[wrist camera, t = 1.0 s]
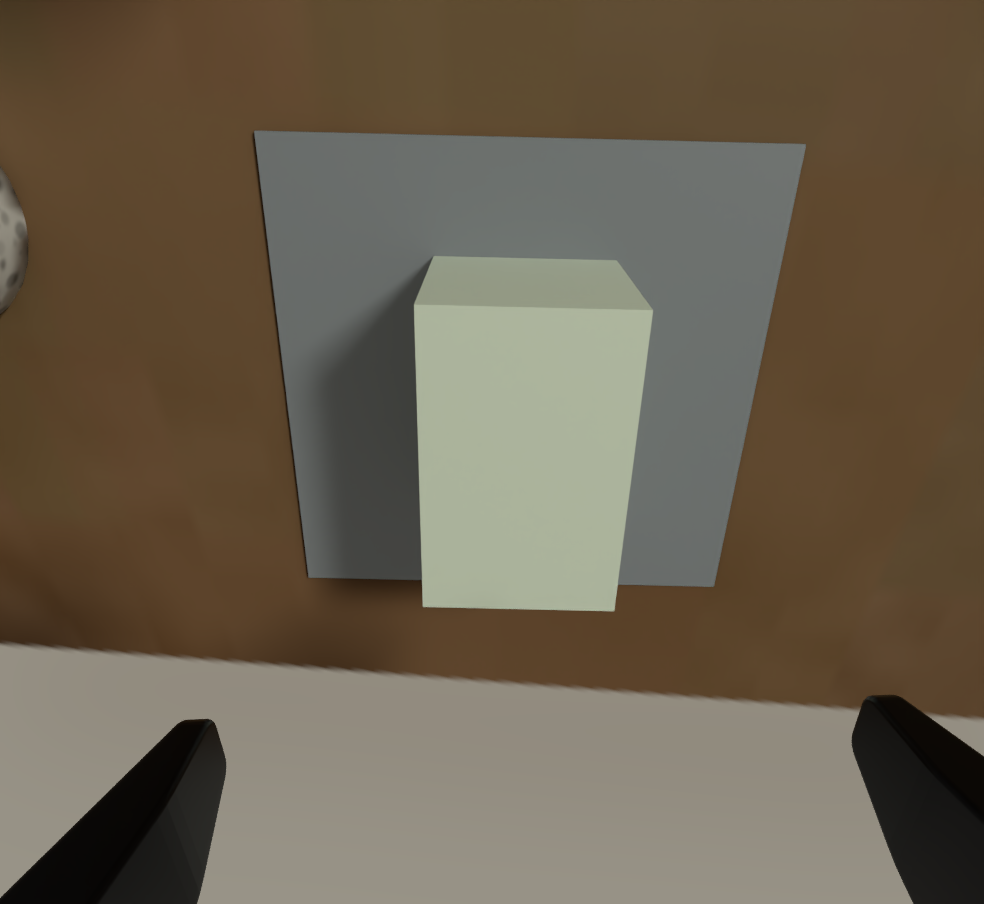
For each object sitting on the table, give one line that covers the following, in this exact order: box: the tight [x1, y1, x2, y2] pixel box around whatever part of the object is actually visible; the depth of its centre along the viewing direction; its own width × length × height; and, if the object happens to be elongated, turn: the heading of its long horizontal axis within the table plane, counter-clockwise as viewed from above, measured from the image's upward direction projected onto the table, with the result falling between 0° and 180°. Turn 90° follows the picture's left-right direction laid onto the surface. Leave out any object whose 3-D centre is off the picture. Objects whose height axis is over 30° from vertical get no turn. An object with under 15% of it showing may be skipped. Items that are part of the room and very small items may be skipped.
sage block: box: [414, 256, 653, 611], centre depth 19 cm, size 5×8×5 cm, turn 179°
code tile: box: [254, 131, 806, 587], centre depth 21 cm, size 14×14×1 cm
